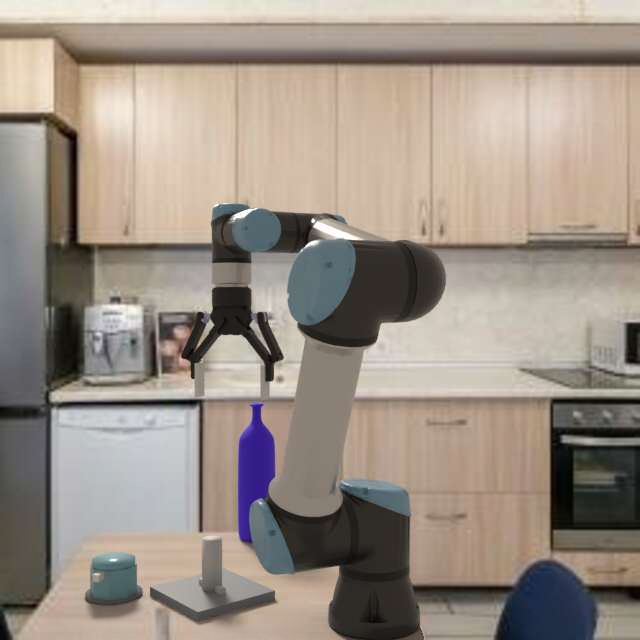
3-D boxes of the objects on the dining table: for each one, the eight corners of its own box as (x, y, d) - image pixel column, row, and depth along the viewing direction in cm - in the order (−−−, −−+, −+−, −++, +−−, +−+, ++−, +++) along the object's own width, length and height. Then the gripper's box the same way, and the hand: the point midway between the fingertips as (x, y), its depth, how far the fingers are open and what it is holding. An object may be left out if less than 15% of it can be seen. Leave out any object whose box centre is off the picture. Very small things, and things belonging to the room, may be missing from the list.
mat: (152, 596, 151) (152, 593, 151) (100, 609, 145) (100, 606, 145) (126, 581, 159) (126, 578, 159) (75, 593, 152) (75, 590, 152)
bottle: (269, 544, 183) (270, 406, 182) (233, 541, 185) (233, 405, 184) (279, 533, 191) (279, 401, 190) (244, 531, 193) (244, 400, 192)
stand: (275, 598, 150) (275, 540, 150) (197, 621, 140) (197, 557, 139) (224, 576, 162) (224, 521, 162) (149, 594, 152) (149, 536, 151)
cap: (114, 605, 145) (114, 570, 145) (77, 599, 148) (76, 565, 147) (148, 584, 155) (148, 552, 155) (112, 579, 158) (112, 548, 158)
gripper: (300, 286, 160) (300, 398, 161) (182, 286, 168) (182, 393, 169) (286, 285, 153) (286, 402, 154) (163, 286, 161) (163, 397, 161)
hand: (231, 397), depth 161 cm, fingers open, 13 cm apart
